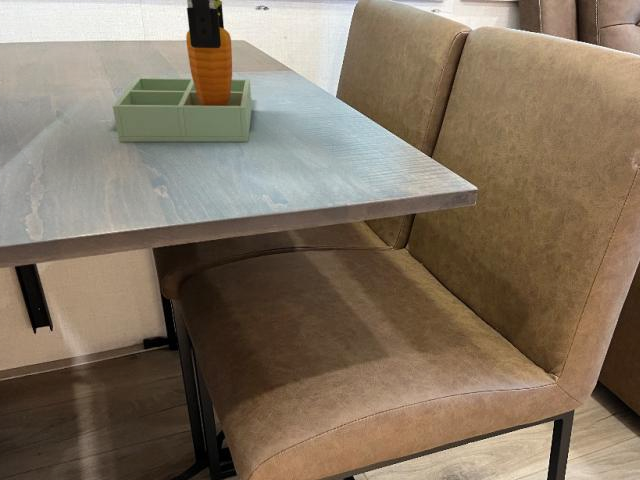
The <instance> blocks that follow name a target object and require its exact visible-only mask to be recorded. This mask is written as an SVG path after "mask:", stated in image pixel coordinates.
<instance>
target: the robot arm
mask: <svg viewBox="0 0 640 480" xmlns="http://www.w3.org/2000/svg"><path fill="white" fill-rule="evenodd" d="M216 1H218V0H186V2H187V8H186V13H187V23H188V31H189V32H190V41H191V46H192V47H194V48H219V47H220V46H221V38H220V28H223V29H225V26H224V25H225V24H224V14H223V12H224V11H223V3H222V4H221V5H220V6H219V7H218V8H217V9H215V2H216ZM218 13H220V16H218Z"/></svg>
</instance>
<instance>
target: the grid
mask: <svg viewBox="0 0 640 480" xmlns="http://www.w3.org/2000/svg"><path fill="white" fill-rule="evenodd" d="M252 104H253V103H252V91H251V80H250V79H248V78H247V79H246V78H245V79H243V78H232V83H231V92H230V99H229V103H228V106H202V105H201V103H200V101H199V98H198V95H197V92H196V89H195V85H194V82H193V78H192V77H191V78H188V77H187V78H186V77H184V78H183V77H181V78H180V77H135V79H134V80H133V81H132V83H131V84H130V85H129V86H128V87H127V89H126V90H125V91H124V92H123V94H121V96H120V97H119V98H118V99H117V101H116V102H115V103H114V104H113V105H112V110H113V115H114V121H115V126H116V131H117V138H118V142H119V143H120V142H121V143H122V142H124V143H134V142H135V143H138V142H141V143H145V142H146V143H147V142H148V143H149V142H151V143H152V142H153V143H156V142H157V143H159V142H161V143H162V142H163V143H165V142H166V143H172V142H173V143H176V142H177V143H179V142H181V143H183V142H185V143H188V142H189V143H190V142H191V143H200V142H201V143H202V142H204V143H205V142H206V143H209V142H210V143H214V142H215V143H217V142H218V143H221V142H224V143H225V142H227V143H228V142H229V143H231V142H235V143H236V142H237V143H238V142H239V143H241V142H242V143H243V142H244V143H246V142H247V143H248V142H249V136H250V135H249V134H250V126H251V120H252V111H253V106H252Z"/></svg>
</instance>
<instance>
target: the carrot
mask: <svg viewBox="0 0 640 480" xmlns="http://www.w3.org/2000/svg"><path fill="white" fill-rule="evenodd" d="M221 4H222V5H223V1H222V0H218V1H216V2H215V9H217V8H218V7H219V6H220V5H221ZM218 16H220V13H218ZM220 38H221V46H220V47H219V48H194V47H192V46H191V41H190V32H189V30H188V31H187V32H186V36H185V41H186V48H187V54H188V55H187V56H188V62H189V69H190V74H191V79H192V78H193V82H194V85H195V89H196V92H197V95H198V98H199V101H200V103H201V105H202V106H228V103H229V99H230V92H231V83H232V79H233V52H232V49H233V48H232V37H231V34H230V33H229V31H227V30H226V29H225V28H224V29H223V28H220Z"/></svg>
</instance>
